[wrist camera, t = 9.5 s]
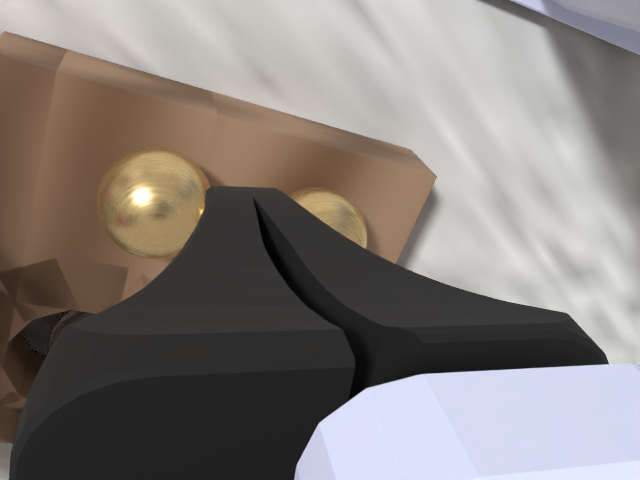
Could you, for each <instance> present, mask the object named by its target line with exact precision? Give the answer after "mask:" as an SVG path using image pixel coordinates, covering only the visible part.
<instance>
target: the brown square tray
mask: <svg viewBox="0 0 640 480" xmlns="http://www.w3.org/2000/svg"><path fill="white" fill-rule="evenodd" d="M153 146H155V147H164V148H169V149H172V150H175V151H178V152H180V153H182V154H184V155H185V156H187V157H189V158H190V159H191V160H192V161H194V162H195V163H196V164H197V165H198V166H199V168H200V169H201V170H202V171H203V173H204V174H205V176H206V178H207V180H208V182H209V185H210V187H211V186H234V187H263V188H276V189H278V190H280V191H282V192H283V193H285V194H286V195H290V194H292V193H293V192H296V191H298V190H301V189H304V188H310V187H323V188H329V189H332V190H335V191H337V192H339V193H341V194H343V195H344V196H346V197H347V198H349V199H350V200H351V201H352V202H353V203H354V204H355V206H356V207H357V208H358V209H359V211H360V213H361V214H362V216H363V219H364V221H365V224H366V229H367V247H366V249H367V250H369V251H370V252H372V253H374V254H376V255H378V256H380V257H382V258H384V259H386V260H388V261H390V262H392V263H394V264H396V263H397V260H398V258H399V256H400V254H401V252H402V250H403V248H404V246H405V243H406V241H407V239H408V237H409V235H410V233H411V231H412V229H413V226H414V224H415V222H416V220H417V218H418V216H419V214H420V212H421V209H422V207H423V205H424V203H425V201H426V199H427V197H428V195H429V192H430V190H431V188H432V186H433V184H434V182H435V180H436V178H437V176H436V175H435V174H434V173H433V172H432V171H431V170H430V169H429V168H428V167H427V166H426V165H425V164H424V163H423V162H422V161H421V160H420V159H419V158H418V156H417V155H416V154H415V153H414V152H413V151H412V150H410V149H406V148H403V147H399V146H396V145H392V144H389V143H386V142H382V141H379V140H375V139H372V138H368V137H365V136H362V135H358V134H355V133H351V132H348V131H344V130H341V129H338V128H334V127H331V126H327V125H324V124H320V123H317V122H314V121H310V120H307V119H303V118H300V117H297V116H293V115H290V114H286V113H283V112H279V111H276V110H273V109H269V108H266V107H262V106H259V105H255V104H252V103H249V102H245V101H242V100H238V99H235V98H231V97H228V96H225V95H221V94H218V93H214V92H211V91H207V90H204V89H201V88H197V87H194V86H190V85H187V84H184V83H180V82H177V81H173V80H170V79H166V78H163V77H160V76H156V75H153V74H149V73H146V72H142V71H139V70H136V69H132V68H129V67H125V66H122V65H118V64H115V63H112V62H108V61H105V60H101V59H98V58H94V57H91V56H88V55H84V54H81V53H77V52H74V51H71V50H67V49H64V48H60V47H57V46H53V45H50V44H47V43H43V42H40V41H36V40H33V39H29V38H26V37H23V36H19V35H16V34H12V33H9V32H5V31H4V32H3V33H2V34H1V35H0V442H6V443H12V444H14V440H15V436H16V432H17V428H18V424H19V420H20V416H21V413H22V410H23V407H24V404H25V402H26V399H27V397H28V394H29V392H30V390H31V388H32V385H33V383H34V380H35V378H36V376H37V374H38V372H39V370H40V368H41V366H42V364H43V362H44V360H45V357H43V356H41V355H40V354H38V353H36V352H34V351H33V350H31V349H30V348H29V346H28V344H27V342H26V340H25V339H24V337H23V335H22V333H21V330H22V329H23V328H24V327H25V326H27V325H28V324H29V323H30V322H31V321H32V320H34V319H37V318H41V317H45V316H49V315H52V314H56V313H60V312H64V311H68V310H74V311H81V312H87V313H94V314H97V313H99V312H102V311H104V310H106V309H108V308H110V307H112V306H114V305H116V304H118V303H120V302H122V301H123V300H125V299H127V298H129V297H130V296H132V295H133V294H135V293H137V292H138V291H140V290H141V289H143V288H144V287H145V286H146V285H148V284H149V283H150V282H151V281H152V280H153V279H154V278H155V277H157V276H158V275H159V274H160V273H161V272H162V271H163V270H164V269H165V268H166V267H167V266H168V265H169V264H170V263H171V261H172V260H173V259H174V258H175V257H176V256H174V257H171V258H166V259H145V258H140V257H137V256H134V255H132V254H130V253H128V252H126V251H124V250H123V249H121V248H120V247H118V246H117V245H116V244H115V243H114V242H113V241H112V240H111V239H110V238H109V237H108V235H107V234H106V232H105V231H104V229H103V227H102V225H101V223H100V220H99V217H98V213H97V206H96V198H97V191H98V187H99V184H100V181H101V179H102V177H103V175H104V173H105V172H106V171H107V169H108V168H109V167H110V166H111V165H112V163H113V162H114V161H116V160H117V159H118V158H119V157H121V156H122V155H124V154H126V153H128V152H130V151H132V150H135V149H139V148H143V147H153Z"/></svg>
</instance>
